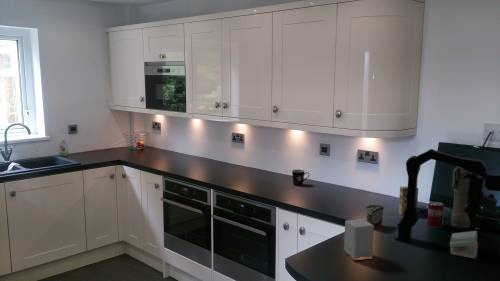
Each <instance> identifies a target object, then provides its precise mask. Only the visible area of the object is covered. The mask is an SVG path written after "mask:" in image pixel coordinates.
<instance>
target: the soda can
mask: <svg viewBox="0 0 500 281" xmlns="http://www.w3.org/2000/svg"><path fill="white" fill-rule="evenodd" d="M427 207H428V208H427V221H426V225H427V227H430V228H433V229H441V228H442V227H443V223H444V211H445V205H444V203H443V202H439V201H429V203H428V206H427Z"/></svg>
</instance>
